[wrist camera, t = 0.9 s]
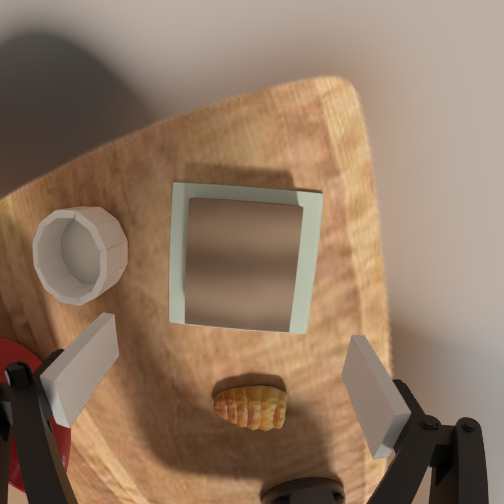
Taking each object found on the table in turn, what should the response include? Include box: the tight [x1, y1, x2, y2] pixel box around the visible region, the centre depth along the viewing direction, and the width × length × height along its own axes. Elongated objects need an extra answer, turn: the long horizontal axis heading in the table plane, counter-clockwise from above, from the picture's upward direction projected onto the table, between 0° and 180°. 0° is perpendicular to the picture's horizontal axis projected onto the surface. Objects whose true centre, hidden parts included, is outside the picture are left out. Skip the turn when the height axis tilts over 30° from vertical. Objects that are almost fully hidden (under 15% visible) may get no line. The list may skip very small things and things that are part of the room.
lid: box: [185, 197, 304, 332], centre depth 32 cm, size 13×11×3 cm
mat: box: [169, 182, 324, 334], centre depth 34 cm, size 16×16×1 cm
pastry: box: [214, 385, 288, 431], centre depth 36 cm, size 9×7×4 cm
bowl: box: [32, 206, 128, 306], centre depth 31 cm, size 10×10×6 cm
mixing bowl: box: [0, 337, 71, 493], centre depth 31 cm, size 28×28×15 cm
